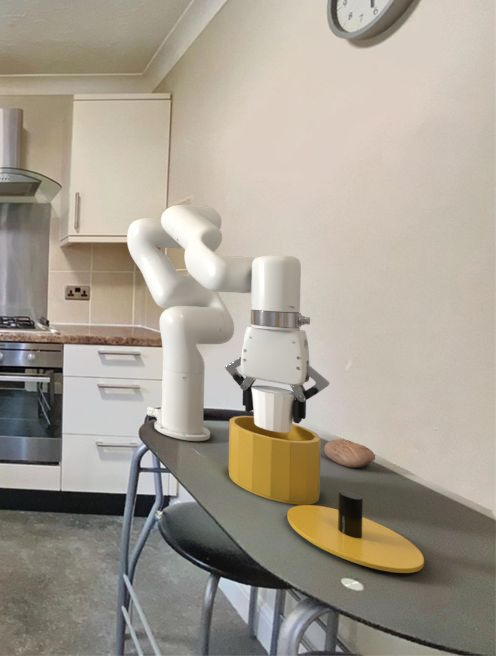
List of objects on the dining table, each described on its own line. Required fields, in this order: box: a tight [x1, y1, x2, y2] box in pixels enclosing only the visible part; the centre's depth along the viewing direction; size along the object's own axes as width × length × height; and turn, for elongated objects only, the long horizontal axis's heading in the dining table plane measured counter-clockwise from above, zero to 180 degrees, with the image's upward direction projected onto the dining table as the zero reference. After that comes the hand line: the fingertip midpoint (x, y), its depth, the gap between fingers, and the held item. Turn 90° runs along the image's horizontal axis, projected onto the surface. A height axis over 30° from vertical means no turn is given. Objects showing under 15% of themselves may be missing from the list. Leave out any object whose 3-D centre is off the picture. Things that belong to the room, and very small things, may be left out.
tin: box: [227, 415, 322, 506], centre depth 75 cm, size 14×14×10 cm
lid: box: [286, 489, 425, 574], centre depth 58 cm, size 15×15×7 cm
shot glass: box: [251, 384, 296, 433], centre depth 75 cm, size 7×7×7 cm
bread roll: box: [323, 438, 376, 469], centre depth 86 cm, size 8×6×8 cm
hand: (272, 415), depth 75 cm, fingers closed on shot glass, 6 cm apart
